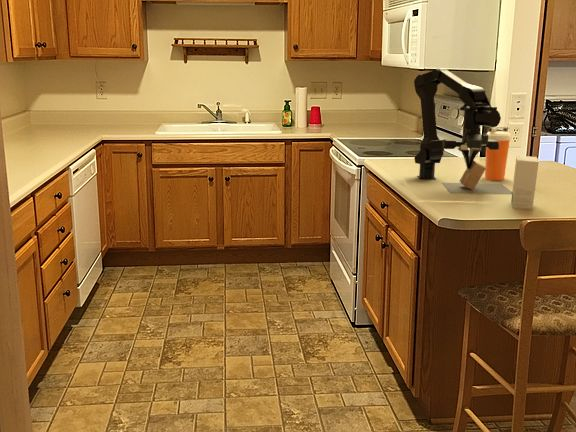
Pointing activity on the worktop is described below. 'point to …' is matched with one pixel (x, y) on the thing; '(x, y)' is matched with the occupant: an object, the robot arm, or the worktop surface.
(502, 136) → the shaker bottle
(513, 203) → the skincare box
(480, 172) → the block
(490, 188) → the mat
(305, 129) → the worktop surface
